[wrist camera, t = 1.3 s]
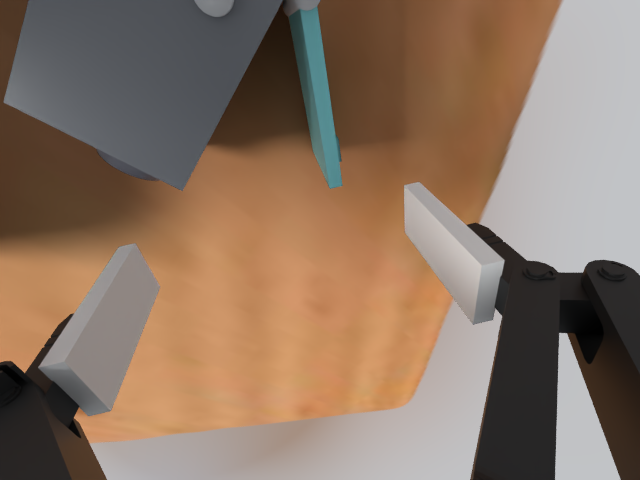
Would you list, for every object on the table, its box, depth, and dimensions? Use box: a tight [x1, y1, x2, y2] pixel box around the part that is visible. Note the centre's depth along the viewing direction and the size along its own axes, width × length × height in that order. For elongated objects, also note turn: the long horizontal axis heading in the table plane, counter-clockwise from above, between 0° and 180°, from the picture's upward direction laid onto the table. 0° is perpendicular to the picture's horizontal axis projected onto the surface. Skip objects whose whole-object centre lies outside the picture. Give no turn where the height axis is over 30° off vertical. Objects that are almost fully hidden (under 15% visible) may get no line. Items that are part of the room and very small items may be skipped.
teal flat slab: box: [283, 0, 342, 189], centre depth 25 cm, size 2×13×10 cm, turn 10°
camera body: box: [4, 0, 283, 191], centre depth 22 cm, size 10×16×12 cm, turn 145°
